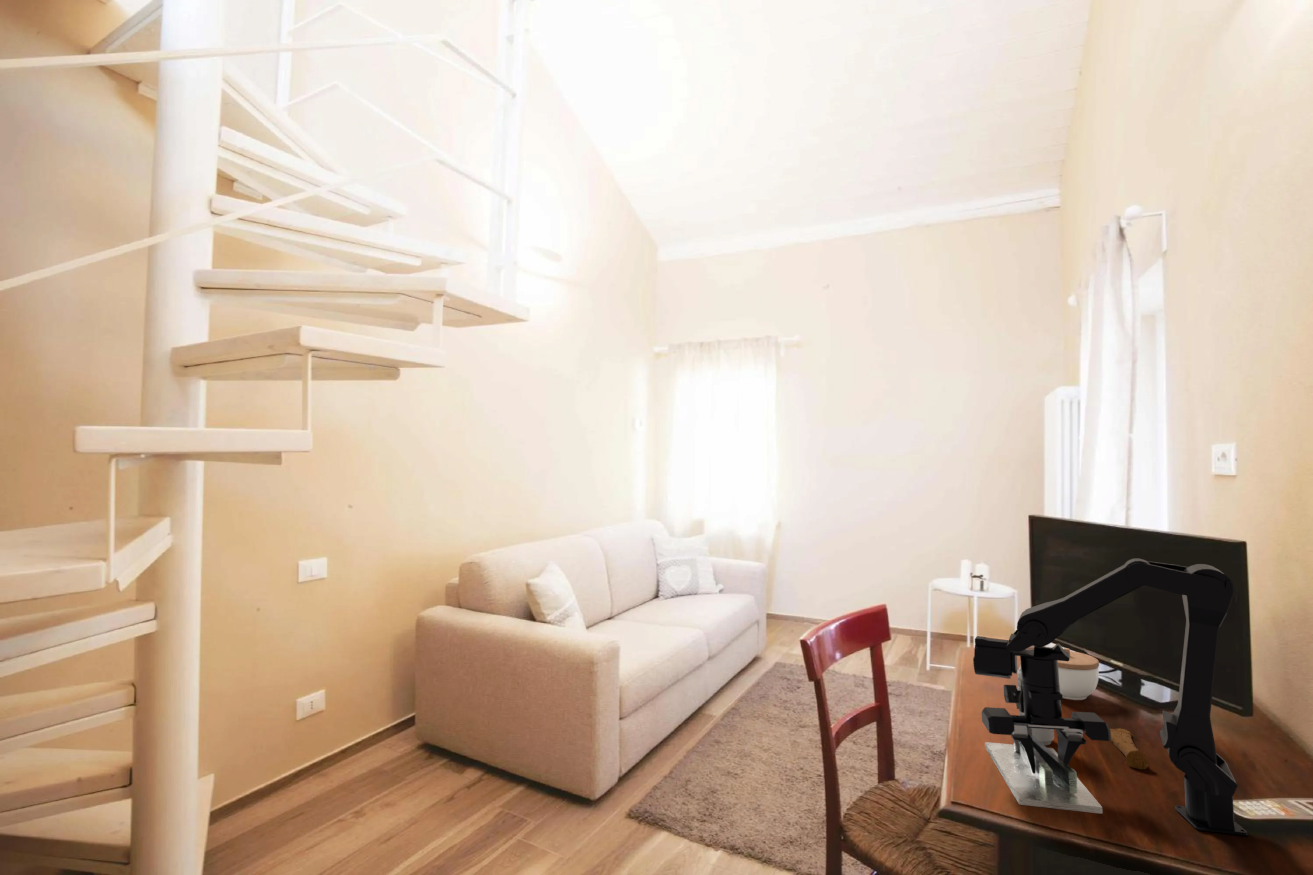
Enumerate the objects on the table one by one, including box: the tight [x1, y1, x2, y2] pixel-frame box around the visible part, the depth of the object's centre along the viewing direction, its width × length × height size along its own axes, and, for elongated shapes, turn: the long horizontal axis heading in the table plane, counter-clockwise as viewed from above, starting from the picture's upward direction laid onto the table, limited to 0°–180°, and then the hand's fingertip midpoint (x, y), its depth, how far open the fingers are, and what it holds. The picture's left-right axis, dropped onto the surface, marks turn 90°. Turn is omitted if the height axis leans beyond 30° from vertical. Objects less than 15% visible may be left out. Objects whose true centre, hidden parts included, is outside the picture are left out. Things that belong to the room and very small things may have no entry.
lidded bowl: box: [1058, 648, 1100, 701], centre depth 153 cm, size 13×13×11 cm
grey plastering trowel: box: [984, 728, 1103, 814], centre depth 113 cm, size 22×12×5 cm, turn 166°
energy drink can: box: [1016, 662, 1055, 746], centre depth 128 cm, size 6×6×15 cm
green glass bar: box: [1030, 735, 1078, 794], centre depth 112 cm, size 14×1×4 cm, turn 174°
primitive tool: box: [1109, 727, 1150, 770], centre depth 124 cm, size 19×6×4 cm, turn 158°
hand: (1047, 773), depth 110 cm, fingers open, 4 cm apart
